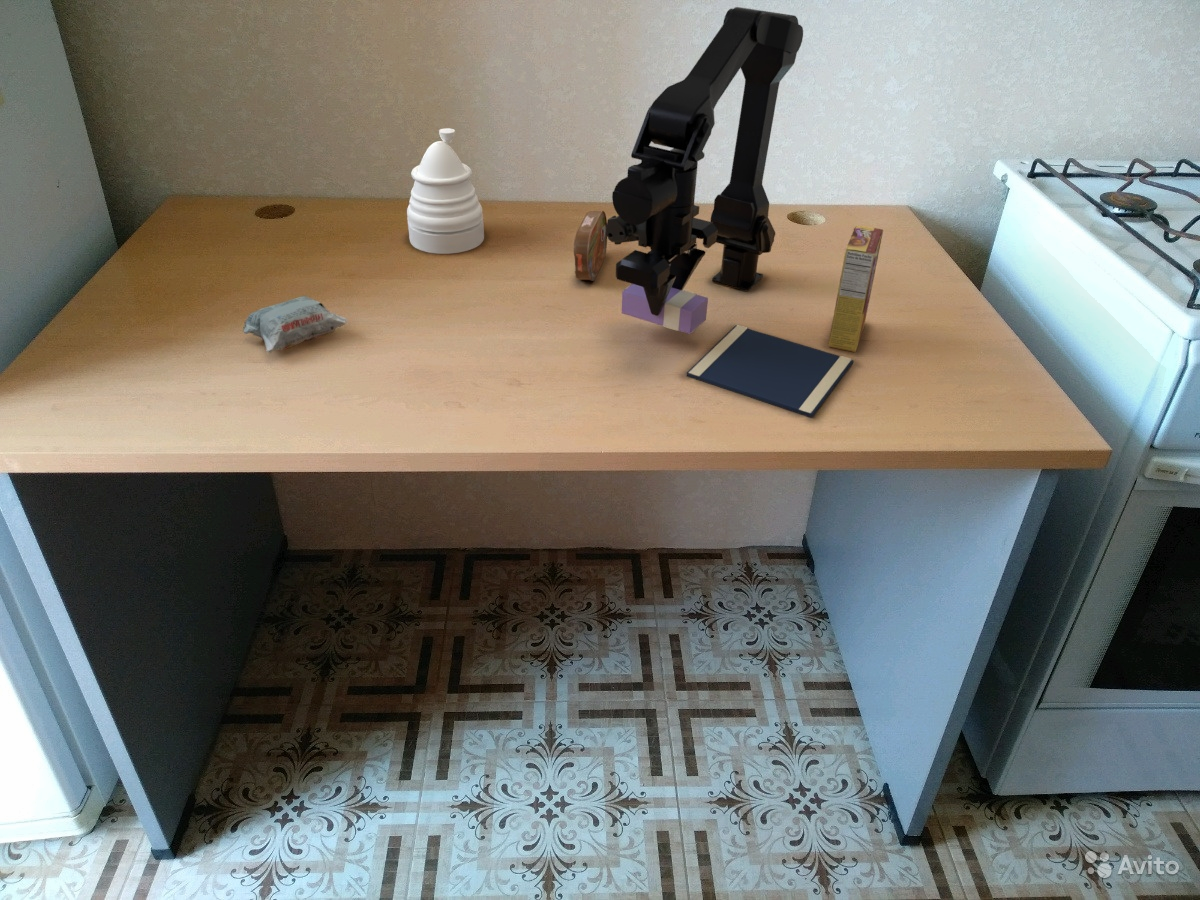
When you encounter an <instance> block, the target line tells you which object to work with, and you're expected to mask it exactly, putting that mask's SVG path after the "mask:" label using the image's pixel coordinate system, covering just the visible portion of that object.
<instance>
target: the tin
mask: <svg viewBox="0 0 1200 900" xmlns="http://www.w3.org/2000/svg"><path fill="white" fill-rule="evenodd" d="M607 221H608V218H607V215H606V212H605V211H604V210H600V211H598V210H592V211H591V210H590V211H589V210H588V212H586V214H585V215H584V218H583V219H582V221H581V223H580V225H579V227H578V228H577V230H576V233H575V237H574V243H573V256H574V269H575V271H574V274H575V278H576V279H578V280H581V281H591V282H593V281H595V280H596V278H597V276H598V273H599V271H600V269H601V267H602V265H603V263H604V261H605V257H606V254H607V245H608V237H607V236H606V234H605V232H606V228H607V226H606V224H607Z"/></svg>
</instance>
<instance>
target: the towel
mask: <svg viewBox="0 0 1200 900" xmlns="http://www.w3.org/2000/svg"><path fill="white" fill-rule="evenodd" d="M853 364H854V359H852V358H850V357H847V356H844V355H838V354H834V353H830V352H828V351H825V350H821V349H817V348H814V347H810V346H807V345H804V344H801V343H799V342H794V341H791V340H788V339H784V338H781V337H778V336H775V335H770V334H767V333H764V332H761V331H757V330H754V329H750V328H749V327H747V326H743V325H740V324H735V326H733V327H732V328H731V329H730V330H729V331H727V333H726V334H725V335H723V337H722V338H721V339H720V340H718V341H717V343H716V344H715V345H714V346H712V348H710V349H709V350H708V352H706V353H705V354H704V355H703V356H702V357H701V358H700V359H699V360H698V361H697V362H696V363H695V364H694V365H693V366H692V367H691V368H690V369H689V370H688V371H687V372H686V377H688V378H691V379H694V380H698V381H700V382H703V383H706V384H710V385H712V386H716V387H718V388H721V389H724V390H727V391H729V392H733V393H736V394H739V395H742V396H746V397H749V398H751V399H754V400H756V401H760V402H763V403H766V404H770V405H773V406H775V407H778V408H781V409H784V410H787V411H791V412H792V413H796V414H799V415H802V416H805V417H807V418H810V419H811V418H814V416H815V415H816V414H817V412H818V411H819V410H820V408H821V407H822V405H823V404H824V403H825V401H826V400H827V399H828V398H829V397H830V394H831V393H832V392H833V391H834V389H835V388H836V387H837V386H838V384H839V383H840V381H841V380H843V379H842V378H843V377H844V376H845V375H846V373H848V371H849V370H850V368H851V367H852V366H853Z"/></svg>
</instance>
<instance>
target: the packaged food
mask: <svg viewBox="0 0 1200 900" xmlns="http://www.w3.org/2000/svg"><path fill="white" fill-rule="evenodd" d="M347 321H348V320H347V318H346V317H343V316H340V315H337V313H335V312H331V311H329V310H328V309H327V308H326V307H325V305H324V304H323V303H322V302H320V301H319V300H316V299H313V298H310V297H308V296H307V295H302V296H299V297H296V298H292V299H288V300H285V301H284V302H280V303H276V304H273V305H270V306H265V307H263V308H260V309H257V310H256V311H253V312H251V313H250V314H249V315H248V316H247V318H246V320H245V321H244V326H243V328H242V332H243V334H245V335H247V334H252V335H253V336H256V337H259V338H262V339H263V342H264V346H265V351H266V354H269V353H272V352H274V351H275V350H277V351H284V350H286V349H289V348H291V347H293V346H296V345H299V344H301V343H303V342H307V341H312V340H314V339H316V338H319V337H322V336H323V335H326V334H329V333H331V332H334V331H336V330H338V328H341V327H342V326H346V324H347V323H348V322H347Z"/></svg>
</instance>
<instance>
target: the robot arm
mask: <svg viewBox="0 0 1200 900" xmlns="http://www.w3.org/2000/svg"><path fill="white" fill-rule="evenodd" d="M803 39H804V27H803V26H802V25H801V24H799V19H798V17H797V15H794V14H787V13H780V12H774V11H767V10H760V9H753V8H746V7H739V6H736V7H733V8H729V9H728V10H727V12H726V13H725V16H724V18H723V22H722V25H721V27H720V28H719V30H718V31H717V32H716V34H715V36H714V37H713V38H712V40H711V41H710V43H709V44H708V45H707V47H706V48H705V49H704V51H703V53H702V54H701V55H700V57H699V58H698V60H697V61H696V63H695V64H694V66H693V67H692V68H691V70H690V71H689V73H688V74H687V76H686V77H684V78H683V80H681V81H678V82H676V83H673V84H671V85H669V86H667V87H666V88H665V89H664V90H663V91H662V92H661V93H660V94H659V95H658V96H657V97H656V98H655V100H653V102H652V103H651V105H650V106H649V107H648V109H647V111H646V113H645V117H644V119H643V121H642V124H641V127H640V130H639V132H638V134H637V138H636V141H635V142H634V146H633V148H632V151H631V153H630V157H631V158H632V159H636V160H640V161H641V162H640V163H638V164H632V165H631V166H628V168H627V174H626V175H627V176H626V177H624V178H622V179H621V180H619V181H618V182H617V183H616V185H615V186H614V189H613V191H612V193H611V194H612V195H611V199H612V205H613V208H614V210H615V212H616V214H617V215H613V216H611V217H609V218H607V224H606V226H607V228H606V232H605V234H606V236H607V240H609V241H610V242H611V243H614V245H616V246H619V245H622V243H623V244H624V243H629V242H630V243H631V242H637V241H638V243H637V246H639V247H643V248H650V250H649V251H648V252H644V251H641V250H637V249H634V250H633V251H632V252H631V253H629V254H627V255H626V256H624V257H623V258H622V259H620V260H619V261H618V262H616V263H615V278H616V280H618V281H621V282H624V283H628V284H630V285H632V284H635V285H638V286H642V287H643V288H644V291H645V294H646V298H647V301H648V304H649V308H650V311H651V314H653V315H656V316H658V315H659V314H660V312H661V310H662V308H663V306H664V303H665V301H666V299H667V296H668V294H669V292H670V289H671V287H672V288H675V289H679V290H684V288H685V287H686V285H687V284H688V282H689V280H690V279H691V277H692V275H693V274H694V271H695V270H696V269H697V267H698V265H699V264H700V262H701V261H702V259H703V257H704V256H705V255H706V251H705V250H704V249H700V248H698V244H697V239H700V240H702V246H703V247H704V248H705V249H710V248H711V247H712V246H714V245H715V244H721V245H723V247H722V248H723V250H722V258H721V265H720V266H721V267H720V271H719V272H718V273H716V274H715V275H713V277H712V278H711V282H713V283H716V284H719V285H723V286H725V287H726V286H727V287H729V288H733V289H737V290H741V291H745V292H749V291H750V290H752V288H754V287H755V286H756V285H757V284H758V283H759V282H760V281H761V280H762V279H763V278H764V274H763V273H761V272H757V270H758V265H759V257H760V256H761V255H763V254H768V253H771V251H772V247H773V244H774V242H775V237H776V231H775V229H774V227H773V225H772V222H771V220H770V218H769V210H770V200H769V198H768V196H767V193H766V190H765V188H764V185H763V182H764V181H763V179H764V175H765V168H766V164H767V157H768V152H769V145H770V140H771V139H770V138H771V134H772V129H773V128H772V127H773V123H774V116H775V111H776V104H777V99H778V93H779V87H780V83H781V81H782V80H783V79H784V78H785V76H786V75H787V74H788V72H789V71H790V70H791V69H792V67H793V66H794V64H795V62H796V59H797V53H798V52H799V51H800V48H801V46H802V43H803ZM740 69H741V72H742V75H743V77H744V87H743V92H742V93H743V94H742V101H741V106H740V113H739V119H738V127H737V134H736V140H735V146H734V152H733V160H732V166H731V173H730V178H729V182H728V184H727V185H726V186H725V187H724V189H723V190H722V191H721V193H720V194H717V195H716V196H715V198H714V201H713V210H712V212H711V215H710V221H708V220H704V219H701V218H698V217H696V216H698V215H699V214H700V205H696V204H695V198H696V188H697V186H696V185H697V178H698V177H697V175H698V166H699V164H698V162H699V161H701V160H703V159H704V158H705V152H704V149H705V147H706V145H707V143H708V140H709V139H710V137H711V135H712V130H713V128H714V126H715V124H716V123H715V122H716V121H715V108H716V106H717V104H718V102H719V100H720V99H721V97H722V96H723V95H724V93H725V92H726V90H727V89H728V87H729V86H730V84H731V83H732V81H733V79H735V77H736V76H737V73H738V72H739V71H740ZM651 143H652V144H654V145H658V146H662V147H667V148H671V149H670V150H669V149H665V148H660V147H657V146H653V145H651Z"/></svg>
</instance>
